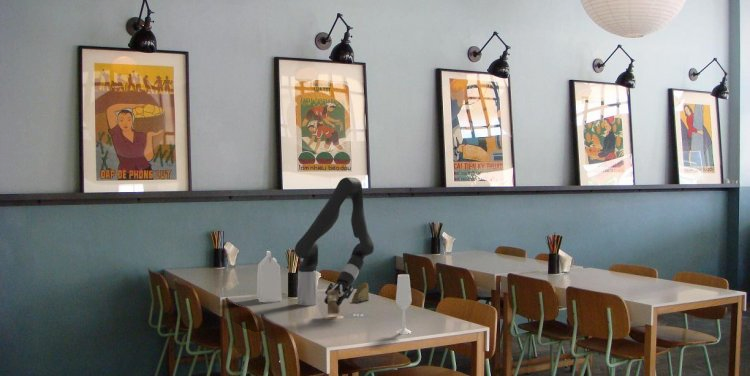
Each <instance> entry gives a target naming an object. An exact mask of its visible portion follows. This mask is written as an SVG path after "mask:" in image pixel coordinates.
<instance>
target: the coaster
mask: <svg viewBox="0 0 750 376" xmlns="http://www.w3.org/2000/svg"><path fill="white" fill-rule="evenodd" d="M323 319H327V320H340V319H344V316H343V315H338V314H335V315H333V314H332V315H331V314H329V315H326V316H323Z"/></svg>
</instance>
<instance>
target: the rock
mask: <svg viewBox="0 0 750 376" xmlns="http://www.w3.org/2000/svg"><path fill="white" fill-rule="evenodd" d="M369 290H370V289H369V283H368V282H363V283H360V284H359V285H358V286H357V289H356V291H355V292H354V293H353V297H352V300H351V302H352V303H359V301H361V302H367V301H366V300H368V301H369V300H370V298H369V292H370V291H369Z"/></svg>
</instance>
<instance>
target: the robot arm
mask: <svg viewBox="0 0 750 376" xmlns="http://www.w3.org/2000/svg"><path fill="white" fill-rule="evenodd" d="M363 196H364V195H363V185H362V182H361V181H360V179H359V178H356V177H347V176H345V177H343V178H342V179H340V180H339V182H338V183H337V185H336V187H335V188H334V191H333V193H332V194H331V196H330V197H329V199H328V201H327V202H326V204H324V206H323V208H322V209H321V210H320V212H319V214H318V215H317V216H316V218H315V219H314V221H313V222H312V223H311V225H310V226H309V228H308V229H307V230H306V232H305V233H304V234H303V235H302V237H301V238H300V239H299V240H298V241H297V242H296V243H295V246H294V253H295V256H296V257H297V258H300V259H302V261H301V263H300V264H299V265H298V267H297V268H298V269H297V271H298V272H297V273H298V275H297V276H298V278H297V279H298V280H297V281H298V282H297V289H296V290H297V306H305V307H306V306H309V307H310V306H315V305H317V302H318V300H317V267H318V264H319V246H318V244H317V241H318V240H319V239H320V238H322V237H323V236H325V234H326V233H328V232H329V231H330V230H331V229H332V228H333V226H334V225H335V224H336V223H337V221H338V219H339V216H340V212H341V211H340V209H341V206H342V205H343V203H344V202H345V201H346V199H347V198H348V197H350V199H351V203H352V210H351V211H352V212H351V218H350V223H351V230H352V233H353V234H352V235H353V237H354V238H356V239H358V241H359V243H358V244H356V245H355V246H354V248H353V249H352V252H351V255H350V258H349V260H348V261H347V263H346V264H345V266H344V267H343V268H342V269H341V272H340V273H339V275H338V277H337V279H336V283H329V285H328V287H327V288H326V290H325V292H324V294H325V295H326V297H325V298H324V300H323V301H324V303H325V304H326V305H328V298H327V292H328V291H329V290H339V292H340V297H339V298H338V300H337V302H336V304H337V305H338V306H340V307H341V305H342V304H343V301H344V300H348V299H349V298H350V297H351V295H352V294H353V292H354V290H355V289H354V288H353V286H352V285H353V284H354V282H355V280H356V279H357V277H358V276H359V272H360V271H361V269H362V267H363V266H364V260H365V257H368V256H370V255H372V254H373V252H374V250H375V247H374V245H375V244H374V242H373V239H372V238H371V236H370V234H369V232H368V227H367V222H366V219H365V211H364V210H365V208H364V197H363Z"/></svg>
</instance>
